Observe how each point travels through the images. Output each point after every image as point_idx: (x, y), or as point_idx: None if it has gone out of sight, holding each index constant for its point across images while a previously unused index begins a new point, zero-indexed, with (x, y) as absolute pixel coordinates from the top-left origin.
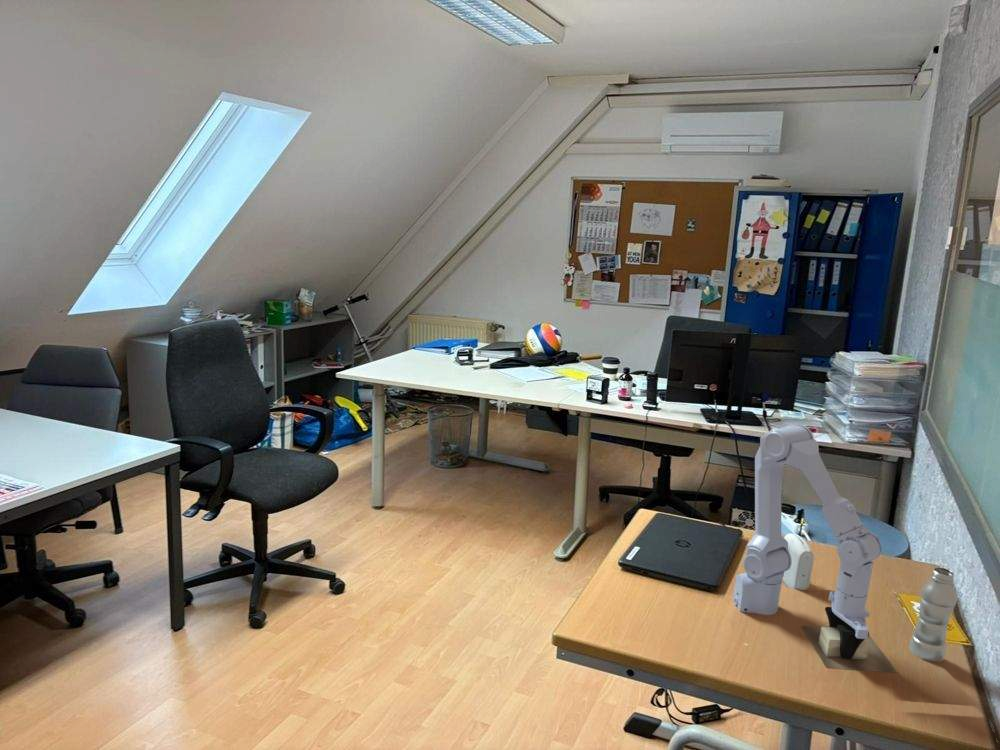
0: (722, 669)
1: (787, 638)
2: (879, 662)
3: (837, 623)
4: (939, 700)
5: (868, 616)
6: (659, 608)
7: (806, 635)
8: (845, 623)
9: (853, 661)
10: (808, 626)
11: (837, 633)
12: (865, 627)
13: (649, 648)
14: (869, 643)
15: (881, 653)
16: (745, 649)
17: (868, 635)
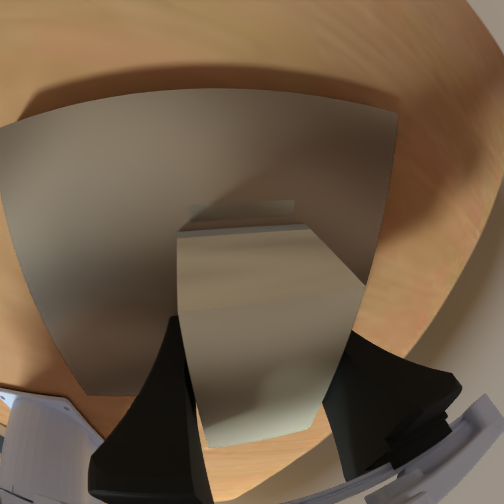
0: (292, 452)
1: None
2: (326, 161)
3: (197, 440)
4: (450, 46)
5: (424, 492)
6: None
7: None
8: (191, 423)
9: None
10: (79, 378)
11: (260, 417)
12: (489, 441)
13: (247, 483)
14: (358, 280)
15: (234, 101)
16: (229, 447)
17: (456, 380)
